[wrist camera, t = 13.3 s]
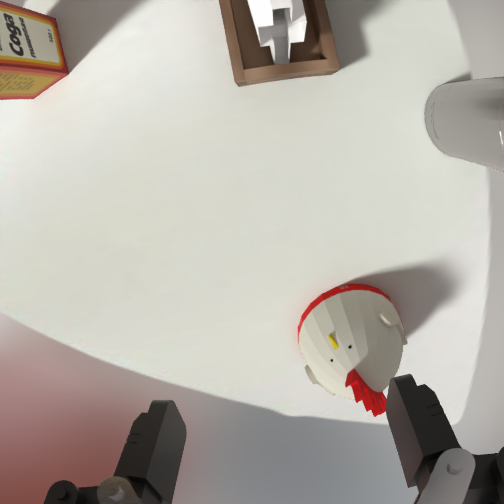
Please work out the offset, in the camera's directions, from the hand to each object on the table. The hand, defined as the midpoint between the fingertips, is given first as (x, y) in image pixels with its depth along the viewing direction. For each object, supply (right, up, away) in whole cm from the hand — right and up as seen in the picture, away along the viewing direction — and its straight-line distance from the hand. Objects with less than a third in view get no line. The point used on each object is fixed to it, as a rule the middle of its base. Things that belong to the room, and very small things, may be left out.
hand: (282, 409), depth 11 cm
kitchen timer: (+12, -5, +31) cm, 34 cm away
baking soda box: (-28, +31, +19) cm, 46 cm away
